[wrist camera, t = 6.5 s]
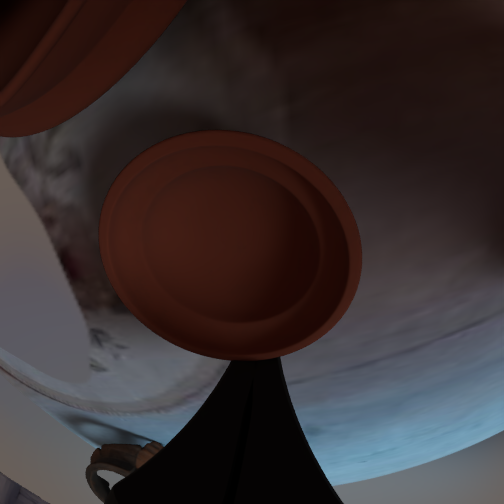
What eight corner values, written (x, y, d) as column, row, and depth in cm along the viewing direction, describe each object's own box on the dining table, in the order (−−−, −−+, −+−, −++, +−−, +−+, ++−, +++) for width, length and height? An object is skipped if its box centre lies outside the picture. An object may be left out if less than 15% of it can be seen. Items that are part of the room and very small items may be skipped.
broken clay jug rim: (112, 449, 26) (71, 488, 18) (135, 392, 26) (85, 433, 17) (208, 504, 25) (185, 556, 17) (248, 457, 24) (229, 518, 16)
